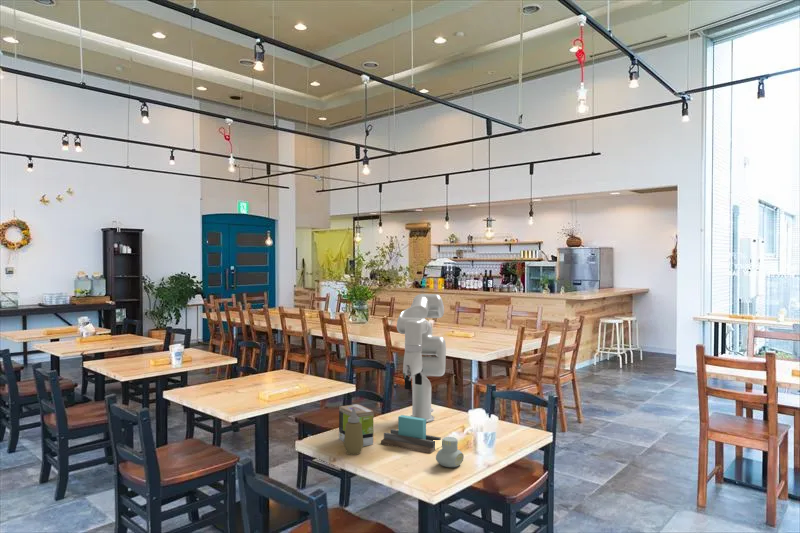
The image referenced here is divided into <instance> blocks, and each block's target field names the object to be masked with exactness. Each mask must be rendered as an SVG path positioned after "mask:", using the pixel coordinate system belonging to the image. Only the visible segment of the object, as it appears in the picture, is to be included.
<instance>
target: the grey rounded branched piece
mask: <svg viewBox="0 0 800 533" xmlns="http://www.w3.org/2000/svg"><path fill="white" fill-rule="evenodd" d="M441 441H442V446H441V449H440V448H439V449H438V451H437V453H436V455H435V460H436V462H437V463H438V465H440V466H441V467H445V468H457V467H459V466H460V465H462V463H463V462H464V454H463V452H462V451H461V450H460V449H458V448H459V447H458V445H459V444H458V439H457V438H456V437H452V436H446V437H443V438H442V440H441Z"/></svg>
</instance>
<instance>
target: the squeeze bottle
mask: <svg viewBox="0 0 800 533" xmlns="http://www.w3.org/2000/svg"><path fill="white" fill-rule="evenodd" d="M343 445H344V448H345V452H346V454H348V455H352V456H353V455H359V454H361V452H362V449H363V447H364V446H363V433H362V424H361V423H360V422H359V417H357V415H356V410H355V408H353V409H352V413H351V417H349V418H348V423H346V428H345V437H344V442H343Z"/></svg>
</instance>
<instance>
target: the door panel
mask: <svg viewBox="0 0 800 533" xmlns="http://www.w3.org/2000/svg"><path fill="white" fill-rule="evenodd" d="M397 420H398V421H397V424H398V426H397V428H398V429H397V430H398V435H403V436H408V437H414V438H420V439H425V440H426V435H427V422H426V419H424V418H417V417H411V415H404V414H400V415H398V417H397Z"/></svg>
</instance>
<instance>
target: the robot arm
mask: <svg viewBox="0 0 800 533" xmlns="http://www.w3.org/2000/svg"><path fill="white" fill-rule="evenodd" d="M444 313H445V306H444V302H443V299H442V297H441V296H440V295H439V294H433V293H421V294H417V295H415V296H414V297H413V300H412V303H411V304H410V307H408V308H406V309H404V310H402V311H401V312H399V315H398V317H397V321H396V330H397V332H398V333H399V334H401V335H404V355H403V365H402V366H403V367H402V375H403V380H404V390H409V391H411V390H412V391H411V392H412V394H411V395H412V400H411V401H412V403H411V405H412V408H411V409H412V414H410V416H411V417H417V418H424V419H426V423H430V422H433V421H434V420H435V416H434V415H432V413H433V412H434V411H435V410H434V408H433V407H432V383H431V381H430V380H429V379H428V377H442V376H444V375H445V373H446V365H447V364H446V360H447V359H446V358H447V357H446V356H447V346H446V345H447V344H446V339H445V338H444V337H443V336H439V335H437V336H436V335H433V333H432V332H433V327H432V325H431V323H430V322H429V321H428V320H427V319H440V318H442V317H444ZM426 318H427V319H426ZM424 355H425V356H424ZM427 355H429V356H427ZM430 355H431V356H430Z"/></svg>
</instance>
